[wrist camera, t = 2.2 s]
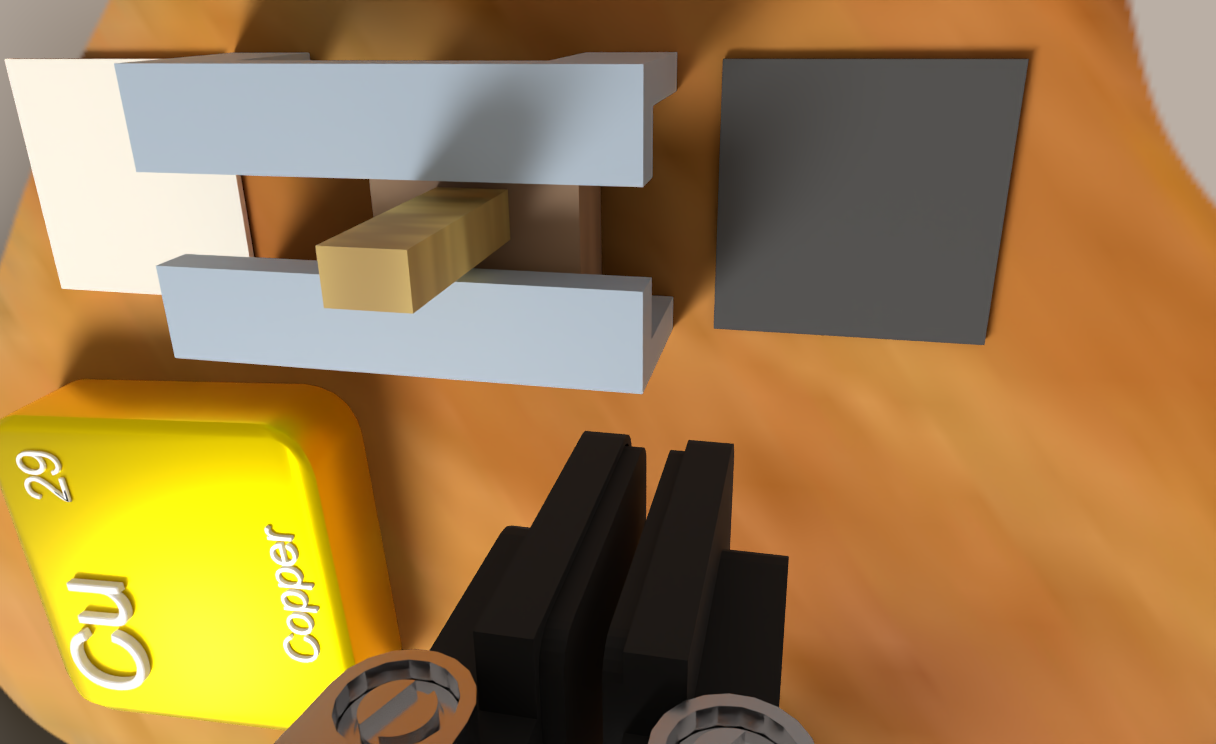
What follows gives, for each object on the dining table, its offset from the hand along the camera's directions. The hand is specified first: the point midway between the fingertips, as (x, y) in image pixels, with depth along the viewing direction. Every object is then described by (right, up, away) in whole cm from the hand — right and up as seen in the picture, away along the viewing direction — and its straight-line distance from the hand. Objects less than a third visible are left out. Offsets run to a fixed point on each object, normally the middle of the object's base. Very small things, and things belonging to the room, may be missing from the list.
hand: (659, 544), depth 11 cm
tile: (-19, +10, +24) cm, 32 cm away
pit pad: (+7, +8, +18) cm, 21 cm away
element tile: (-18, -5, +30) cm, 35 cm away
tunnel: (-6, +9, +21) cm, 24 cm away
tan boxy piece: (-4, +9, +21) cm, 23 cm away
